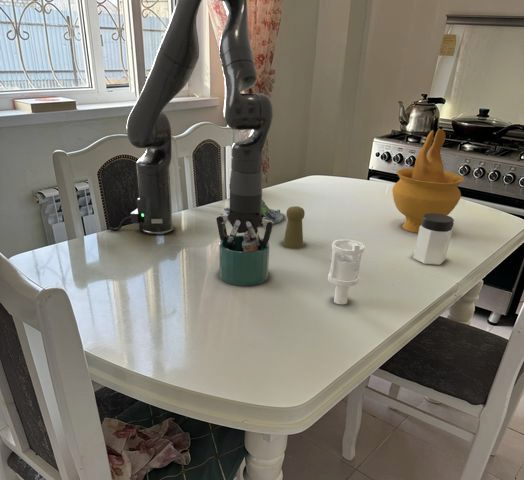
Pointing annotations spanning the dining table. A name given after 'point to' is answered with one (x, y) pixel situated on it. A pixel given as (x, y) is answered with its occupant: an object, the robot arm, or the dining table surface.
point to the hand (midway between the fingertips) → (243, 258)
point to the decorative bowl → (426, 185)
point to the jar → (433, 238)
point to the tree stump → (266, 213)
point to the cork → (294, 228)
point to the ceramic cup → (243, 264)
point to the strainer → (345, 268)
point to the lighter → (249, 243)
